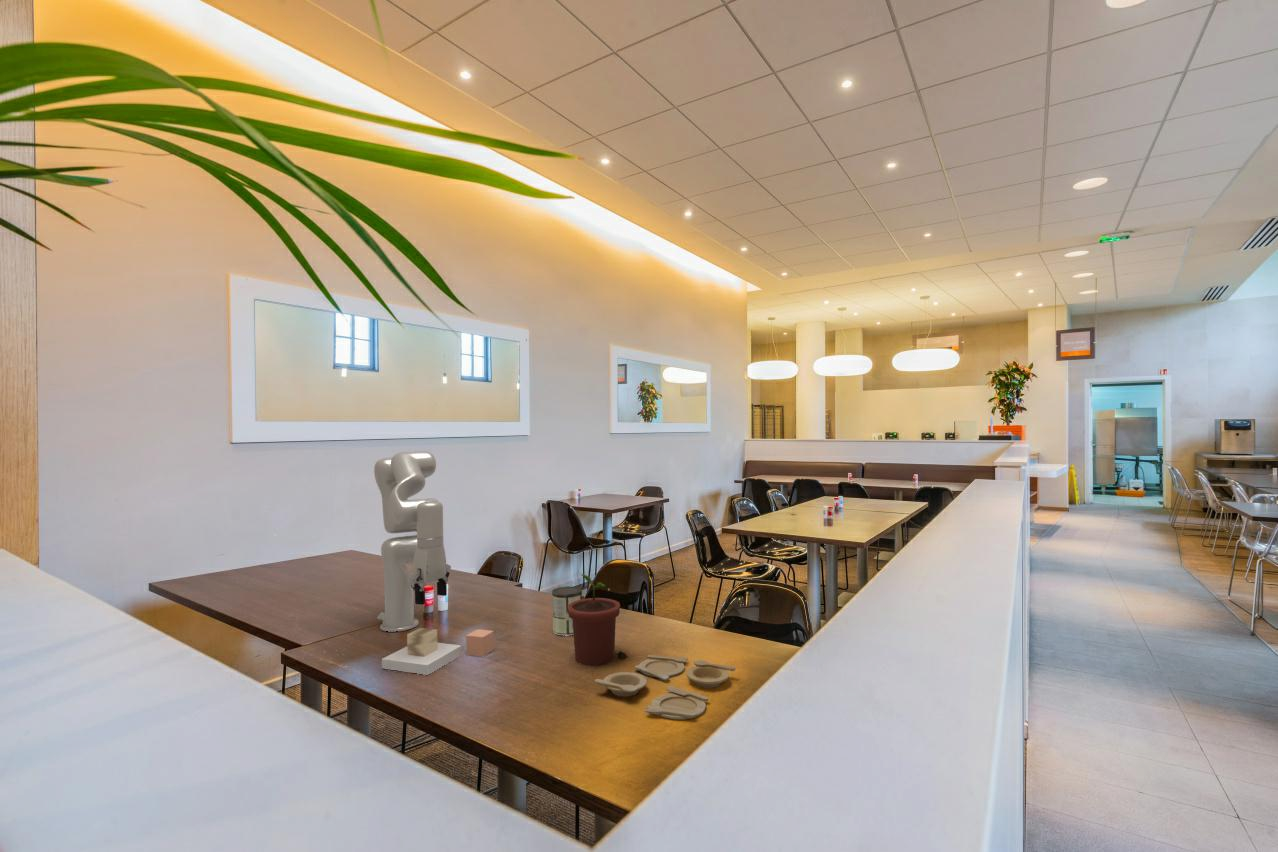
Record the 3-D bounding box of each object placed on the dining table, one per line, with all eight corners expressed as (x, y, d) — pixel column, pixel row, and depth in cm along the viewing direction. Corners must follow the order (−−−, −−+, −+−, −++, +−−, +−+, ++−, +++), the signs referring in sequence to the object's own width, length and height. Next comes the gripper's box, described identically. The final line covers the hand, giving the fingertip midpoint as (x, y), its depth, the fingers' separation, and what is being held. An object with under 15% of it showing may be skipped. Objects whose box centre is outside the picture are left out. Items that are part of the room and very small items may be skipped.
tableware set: (687, 731, 138) (687, 713, 138) (584, 702, 153) (584, 686, 153) (745, 676, 168) (745, 661, 168) (654, 656, 183) (654, 643, 183)
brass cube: (407, 654, 179) (407, 634, 179) (421, 647, 184) (420, 627, 184) (424, 656, 177) (424, 636, 177) (437, 649, 182) (437, 629, 182)
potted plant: (553, 660, 180) (551, 576, 180) (597, 638, 198) (596, 562, 198) (600, 673, 170) (599, 584, 170) (642, 648, 188) (641, 568, 188)
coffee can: (562, 625, 212) (562, 585, 213) (588, 628, 208) (587, 587, 208) (546, 634, 203) (545, 592, 203) (572, 638, 199) (572, 595, 199)
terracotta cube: (466, 654, 186) (466, 635, 186) (477, 648, 192) (477, 629, 192) (483, 656, 184) (482, 637, 184) (494, 650, 190) (493, 630, 190)
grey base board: (381, 669, 175) (381, 659, 175) (418, 649, 191) (418, 640, 191) (427, 675, 170) (427, 665, 170) (461, 655, 185) (461, 645, 185)
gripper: (439, 537, 191) (439, 591, 191) (399, 547, 175) (400, 606, 175) (458, 538, 188) (459, 593, 188) (420, 549, 172) (421, 609, 172)
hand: (431, 599), depth 182 cm, fingers open, 9 cm apart
